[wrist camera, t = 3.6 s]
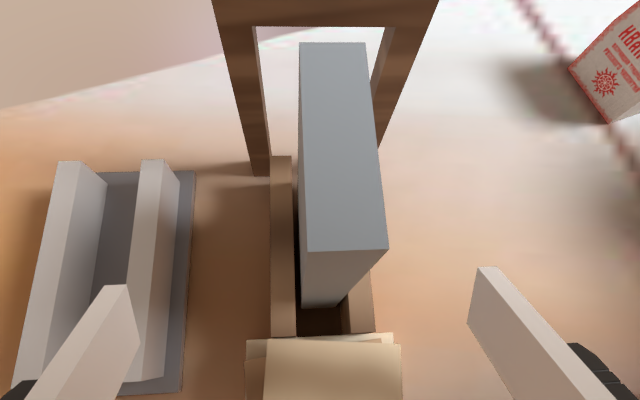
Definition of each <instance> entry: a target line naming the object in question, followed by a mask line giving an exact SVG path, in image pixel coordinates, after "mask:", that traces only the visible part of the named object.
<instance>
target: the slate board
mask: <svg viewBox="0 0 640 400" xmlns="http://www.w3.org/2000/svg"><path fill="white" fill-rule="evenodd" d="M298 236H299V267H300V299H301V309H309V308H330V307H335V306H336V305H337V304H338V303H339V302H340V301H341V300H342V299H343V298H344V297H345V296H346V295H347V294H348V293H349V291H350V290H351V289H352V288H353V287H354V286H355V285H356V284H357V283H358V282H359V281H360V280H361V279H362V278H363V277H364V275H365V274H366V273H367V272H368V271H369V270H370V269H371V268H372V267H373V266H374V265H375V264H376V263H377V262H378V261H379V259H380V258H381V257H382V256H383V255H384V254H385V253H386V252H387V251H388V250H389V242H388V234H387V225H386V216H385V208H384V199H383V191H382V182H381V174H380V165H379V157H378V148H377V139H376V131H375V122H374V114H373V105H372V97H371V88H370V79H369V71H368V62H367V54H366V45H365V43H315V42H299V113H298Z"/></svg>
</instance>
